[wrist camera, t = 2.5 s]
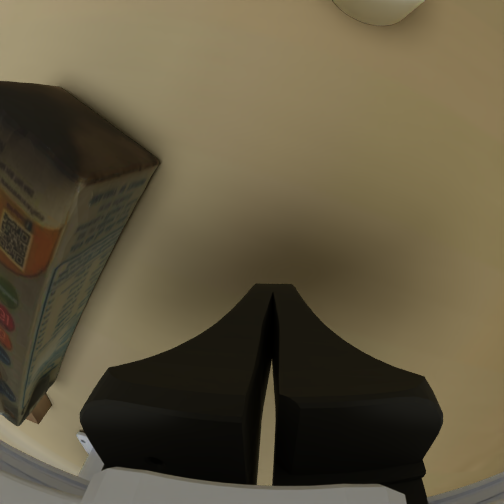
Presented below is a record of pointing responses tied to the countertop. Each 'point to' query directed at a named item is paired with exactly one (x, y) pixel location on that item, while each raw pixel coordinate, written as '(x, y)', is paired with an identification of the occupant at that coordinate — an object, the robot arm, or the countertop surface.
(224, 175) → the countertop surface
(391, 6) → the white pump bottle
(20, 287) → the beverage carton
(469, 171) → the countertop surface
